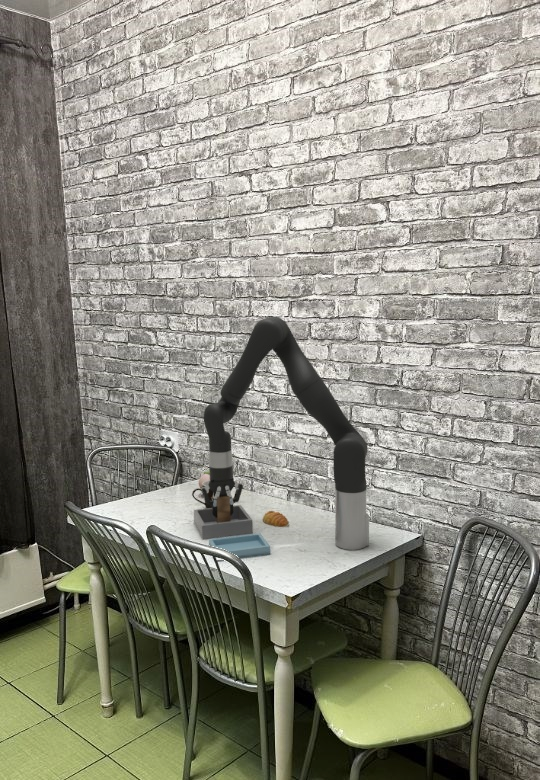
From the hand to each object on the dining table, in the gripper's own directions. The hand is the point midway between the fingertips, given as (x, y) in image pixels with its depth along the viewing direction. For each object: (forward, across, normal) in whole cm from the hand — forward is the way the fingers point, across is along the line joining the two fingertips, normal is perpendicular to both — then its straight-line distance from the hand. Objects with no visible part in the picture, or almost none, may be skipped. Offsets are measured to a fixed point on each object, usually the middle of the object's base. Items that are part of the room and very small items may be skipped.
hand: (223, 515), depth 203 cm
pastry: (+5, +18, 0) cm, 18 cm away
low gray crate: (+5, 0, 0) cm, 5 cm away
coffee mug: (+5, 0, +20) cm, 21 cm away
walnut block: (+2, 0, 0) cm, 2 cm away
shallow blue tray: (+5, +1, -19) cm, 19 cm away
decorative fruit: (+5, +3, +37) cm, 37 cm away
